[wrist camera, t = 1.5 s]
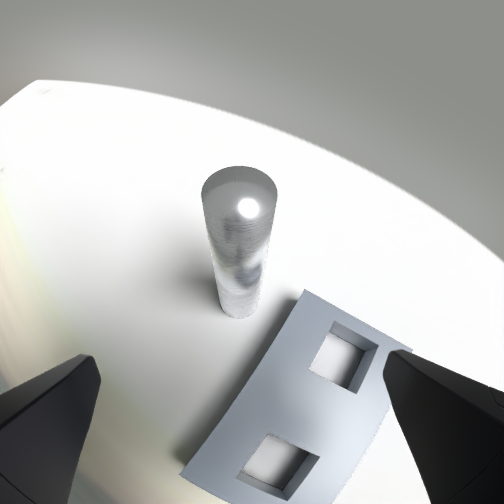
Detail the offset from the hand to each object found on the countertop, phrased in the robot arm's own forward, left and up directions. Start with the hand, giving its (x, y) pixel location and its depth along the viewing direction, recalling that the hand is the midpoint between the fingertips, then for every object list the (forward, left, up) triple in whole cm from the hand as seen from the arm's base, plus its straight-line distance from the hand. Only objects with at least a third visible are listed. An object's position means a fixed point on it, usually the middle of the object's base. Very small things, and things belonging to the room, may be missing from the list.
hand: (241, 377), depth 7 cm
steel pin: (+6, +4, -13) cm, 15 cm away
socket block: (0, -5, -13) cm, 14 cm away
